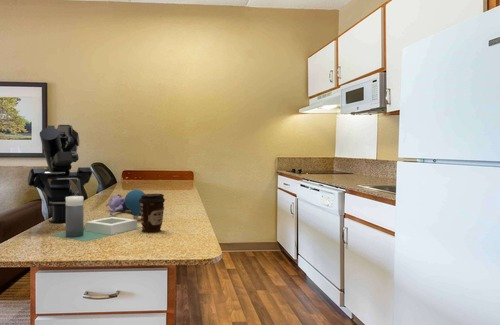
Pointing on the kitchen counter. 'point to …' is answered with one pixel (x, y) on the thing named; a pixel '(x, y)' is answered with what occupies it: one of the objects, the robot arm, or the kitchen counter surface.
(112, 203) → the toy
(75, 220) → the dome-topped cylinder
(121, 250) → the kitchen counter surface
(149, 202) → the coffee cup
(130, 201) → the light bulb
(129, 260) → the kitchen counter surface
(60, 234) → the board
